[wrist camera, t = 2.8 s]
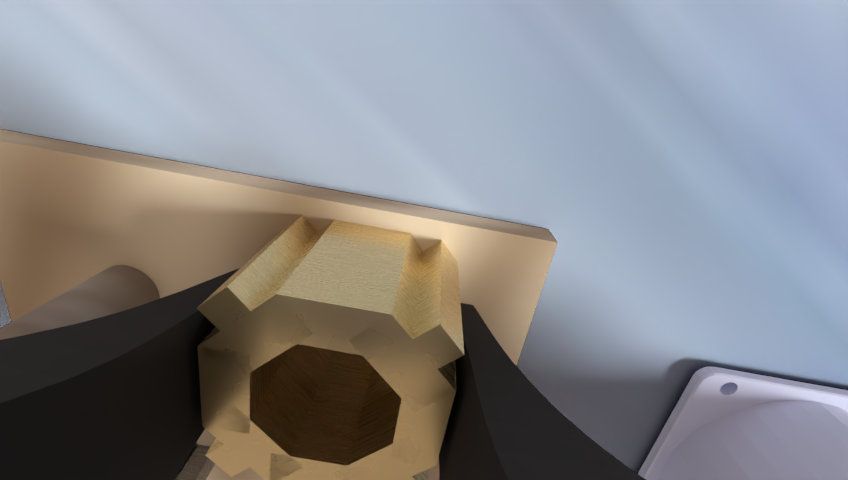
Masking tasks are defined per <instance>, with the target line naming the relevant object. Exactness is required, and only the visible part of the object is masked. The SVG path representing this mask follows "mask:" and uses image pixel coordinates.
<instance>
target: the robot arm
mask: <svg viewBox="0 0 848 480" xmlns="http://www.w3.org/2000/svg"><path fill="white" fill-rule="evenodd" d="M239 269H240V268H239ZM239 269H236V270H233V271H231V272H228V273H225V274H223V275H220V276H218V277H215V278H213V279H210V280H208V281H205V282H203V283H200V284H198V285H195V286H193V287H190V288H188V289H185V290H182V291H180V292H177V293H174V294H171V295H169V296H166V297H163V298H160V299H157V300H154V301H152V302H149V303H146V304H143V305H140V306H137V307H134V308H131V309H128V310H124V311H121V312H118V313H115V314H111V315H107V316H104V317H100V318H96V319H93V320H89V321H85V322H81V323H77V324H73V325H68V326H64V327H59V328H55V329H50V330H46V331H41V332H37V333H32V334H28V335H23V336H18V337H13V338H7V339H2V340H0V480H175V478H176V476H177V474H178V473H179V471H180V469H181V467H182V466H183V464H184V462H185V460H186V459H187V457H188V455H189V453H190V452H191V450H192V448H193V447H194V445H195V444H196V442H197V440H198V439H199V437H200V436H201V434H202V433H203V431H204V430H205V428H204V427H203V426H202V413H201V396H200V379H199V362H198V345H199V344H200V343H201V342H202V341H203V340H204V339H205V338H206V337H207V336H208V335H209V334H210V333H211V331H212V330H213V329H214V328H215V327H216V326H214V325H213V324H212V323H211V322H210V321H209V320H208V319H207V318H206V317H205V316H204V315H203V314H202V313H201V312H200V311H199V310H198V309H197V307H198V306H199V305H201V304H202V303H203V302H204V301H205V300H206V299H207V298H208V297H209V296H210V295H211V294H213V293H214V292H215V291H216V290H217V289H218V288H219V287H220V286H221V285H222V284H223V283H225V282H226V281H227V280H228V279H229V278H230V277H231V276H232V275H233V274H234V273H235V272H237V271H238V270H239ZM461 316H462V329H463V343H464V355H463V356H461V357H460V358H458V359H456V360H455V375H456V393H455V397H454V401H453V405H452V408H451V412H450V416H449V419H448V423H447V427H446V431H445V434H444V438H443V442H442V446H441V449H440V453H439V480H848V390H843V389H837V388H832V387H826V386H820V385H815V384H809V383H803V382H798V381H792V380H787V379H781V378H775V377H770V376H764V375H758V374H753V373H747V372H741V371H736V370H730V369H724V368H719V367H704V368H701V369H699V370H698V371H696V372H695V373H694V375H693V376H692V378H691V379H690V381H689V383H688V385H687V387H686V388H685V390H684V392H683V394H682V395H681V397H680V399H679V401H678V403H677V404H676V406H675V408H674V410H673V412H672V413H671V415H670V417H669V419H668V420H667V422H666V424H665V426H664V428H663V429H662V431H661V433H660V435H659V437H658V438H657V440H656V442H655V444H654V446H653V447H652V449H651V451H650V453H649V454H648V456H647V458H646V460H645V462H644V463H643V465H642V467H641V469H640V471H639V472H638V474H637V473H635V472H634V471H633V470H631V469H630V468H628V467H627V466H626V465H624V464H623V463H622V462H620V461H619V460H618V459H616V458H615V457H614V456H612V455H611V454H610V453H608V452H607V451H605V450H604V449H603V448H602V447H600V446H599V445H598V444H597V443H595V442H594V441H593V440H592V439H590V438H589V437H588V436H587V435H585V434H584V433H583V432H582V431H581V430H580V429H578V428H577V427H576V426H575V425H574V424H573V423H572V422H570V421H569V420H568V419H567V418H566V417H565V416H563V415H562V414H561V413H560V412H559V411H558V410H557V409H556V408H555V407H554V406H553V405H552V404H551V403H550V402H549V401H548V400H547V399H546V398H545V397H544V396H543V395H542V394H541V393H540V392H539V391H538V390H537V389H536V388H535V387H534V386H533V385H532V384H531V383H530V381H529V380H528V379H527V378H526V377H525V376H524V375H523V373H522V372H521V371H520V370H519V369H518V367H517V366H516V365H515V364H514V363H513V361H512V360H511V359H510V358H509V356H508V355H507V354H506V352H505V351H504V350H503V348H502V347H501V346H500V344H499V343H498V342H497V340H496V339H495V337H494V336H493V334H492V333H491V331H490V330H489V328H488V327H487V325H486V324H485V322H484V321H483V319H482V317H481V316H480V314H479V313H478V311H477V310H476V308H475V307H474V305H470V304H465V303H461ZM726 383H727V384H726ZM724 384H725V385H724Z"/></svg>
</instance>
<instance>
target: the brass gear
mask: <svg viewBox="0 0 848 480" xmlns="http://www.w3.org/2000/svg"><path fill="white" fill-rule="evenodd" d="M197 309H198V310H199V311H200V312H201V313H202V314H203V315H204V316H205V317H206V318H207V319H208V320H209V321H210V322H211V323H212V324H213V325H214V326H216V327H215V328H214V329H213V330H212V331H211V333H210V334H209V335H208V336H207V337H206V338H205V339H204V340H203V341H202V342H201V343H200V344H199V345H198V362H199V379H200V396H201V413H202V426H203V427H204V428H205V429H206V430H208V431H209V432H210V433H211V434H212V435H213V436H215V437H216V439H215V441H214V442H213V444H212V445H211V447H210V448H209V450H208V452H207V453H206V455H205V456H207V457H208V458H209V459H210V460H211V461H213V462H214V463H215V464H216V465H217V466H219V467H220V468H221V469H222V470H223V471H225V472H226V473H227V474H228V475H229V476H231V477H232V476H234V475H236V474H238V473H240V472H242V471H244V470H246V469H248V468H249V467H251V468H252V469H253V470H254V471H255V472H256V473H257V474H259V475H260V476H261V477H262V478H263V479H264V480H428V475H429V468H431V467H434V466H436V464H437V461H438V457H439V453H440V449H441V446H442V442H443V438H444V434H445V431H446V427H447V423H448V419H449V416H450V412H451V408H452V405H453V401H454V397H455V393H456V375H455V360H456V359H458V358H460V357H461V356H463V355H464V343H463V329H462V316H461V302H460V288H459V275H458V262H457V260H456V259H455V258H454V256H453V255H452V254H451V252H450V251H449V249H448V248H447V247H446V245H445V244H444V243H443V241H442V240H440V241H439V242H437V243H435V244H434V245H432V246H431V247H429V248H427V249H426V250H424V251H423V250H422V248H421V247H420V246H419V244H418V243H417V242H416V240H415V239H414V238H413V236H412V235H411V234H410V233H406V232H401V231H395V230H390V229H384V228H379V227H373V226H368V225H362V224H356V223H351V222H345V221H340V220H334V221H332V222H331V223H329V224H328V225H327V226H325V227H324V228H322V229H321V230H319V231H318V232H317V231H316V229H315V228H314V227H313V226H312V225H311V224H310V222H309V221H308V220H307V219H306V218H305V216H304V215H302V216H301V217H299V218H298V219H296V220H295V221H294V222H292V223H291V224H290V225H288V226H287V227H285V228H284V229H283V230H281V231H280V232H279V233H278V234H277V235H276V236H275V237H274V238H273V239H271V240H270V241H269V242H268V243H267V244H266V245H265V246H264V247H263V248H262V249H261V250H259V251H258V252H257V253H256V254H255V255H254V256H253V257H252V258H251V259H250V260H249V261H247V262H246V263H245V264H244V265H243V266H242V267H241V268H240V269H239V270H238V271H237V272H235V273H234V274H233V275H232V276H231V277H230V278H229V279H228V280H227V281H226V282H225V283H223V284H222V285H221V286H220V287H219V288H218V289H217V290H216V291H215V292H214V293H213V294H211V295H210V296H209V297H208V298H207V299H206V300H205V301H204V302H203V303H202V304H201V305H199V306H198V307H197Z"/></svg>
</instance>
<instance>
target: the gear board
mask: <svg viewBox="0 0 848 480" xmlns="http://www.w3.org/2000/svg"><path fill="white" fill-rule="evenodd" d="M302 215H304V216H305V218H306V219H307V220H308V221H309V222H310V224H311V225H312V226H313V227H314V228H315V229H316V231H317V232H318V231H319V230H321V229H322V228H324V227H325V226H327V225H328V224H329V223H331V222H332V221H334V220H340V221H345V222H351V223H356V224H362V225H368V226H373V227H379V228H384V229H390V230H395V231H401V232H406V233H410V234H411V235H412V236H413V238H414V239H415V240H416V242H417V243H418V244H419V246H420V247H421V248H422V250H423V251H424V250H426V249H427V248H429V247H431V246H432V245H434V244H435V243H437V242H439V241H440V240H442V241H443V243H444V244H445V245H446V247H447V248H448V249H449V251H450V252H451V254H452V255H453V256H454V258H455V259H456V260H457V262H458V275H459V288H460V302H461V303H465V304H470V305H474V307H475V308H476V310H477V311H478V313H479V314H480V316H481V317H482V319H483V321H484V322H485V324H486V325H487V327H488V328H489V330H490V331H491V333H492V334H493V336H494V337H495V339H496V340H497V342H498V343H499V344H500V346H501V347H502V348H503V350H504V351H505V352H506V354H507V355H508V356H509V358H510V359H511V360H512V361H513V363H514V364H515V365H516V366H517V363H518V360H519V357H520V354H521V351H522V348H523V345H524V342H525V339H526V336H527V333H528V330H529V327H530V324H531V321H532V318H533V315H534V312H535V309H536V306H537V303H538V300H539V297H540V294H541V291H542V288H543V285H544V282H545V279H546V276H547V273H548V270H549V267H550V264H551V261H552V258H553V255H554V252H555V249H556V246H557V243H558V242H557V241H556V239H555V238H554V236H553V235H552V234H551V232H550V231H549V229H544V228H538V227H533V226H527V225H522V224H516V223H511V222H505V221H500V220H494V219H489V218H483V217H478V216H472V215H467V214H461V213H456V212H451V211H445V210H440V209H434V208H429V207H423V206H418V205H412V204H407V203H401V202H396V201H390V200H385V199H379V198H374V197H368V196H363V195H358V194H352V193H347V192H341V191H336V190H330V189H325V188H319V187H314V186H308V185H303V184H297V183H292V182H286V181H281V180H275V179H270V178H265V177H259V176H254V175H248V174H243V173H237V172H232V171H226V170H221V169H215V168H210V167H204V166H199V165H193V164H188V163H182V162H177V161H172V160H166V159H161V158H155V157H150V156H144V155H139V154H133V153H128V152H122V151H117V150H111V149H106V148H100V147H95V146H90V145H84V144H79V143H73V142H68V141H62V140H57V139H51V138H46V137H40V136H35V135H29V134H24V133H18V132H13V131H7V130H2V129H0V282H1V286H2V289H3V293H4V296H5V300H6V304H7V307H8V311H9V315H10V318H11V322H10V323H8V324H7V325H5V326H3V327H1V328H0V340H2V339H7V338H13V337H18V336H23V335H28V334H32V333H37V332H41V331H46V330H50V329H55V328H59V327H64V326H68V325H73V324H77V323H81V322H85V321H89V320H93V319H96V318H100V317H104V316H107V315H111V314H115V313H118V312H121V311H124V310H128V309H131V308H134V307H137V306H140V305H143V304H146V303H149V302H152V301H154V300H157V299H160V298H163V297H166V296H169V295H171V294H174V293H177V292H180V291H182V290H185V289H188V288H190V287H193V286H195V285H198V284H200V283H203V282H205V281H208V280H210V279H213V278H215V277H218V276H220V275H223V274H225V273H228V272H231V271H233V270H236V269H239V268H241V267H242V266H243V265H244V264H245V263H246V262H247V261H249V260H250V259H251V258H252V257H253V256H254V255H255V254H256V253H257V252H258V251H259V250H261V249H262V248H263V247H264V246H265V245H266V244H267V243H268V242H269V241H270V240H271V239H273V238H274V237H275V236H276V235H277V234H278V233H279V232H280V231H281V230H283V229H284V228H285V227H287V226H288V225H290V224H291V223H292V222H294V221H295V220H296V219H298V218H299V217H301V216H302ZM215 439H216V437H215V436H213V435H212V434H211V433H210V432H209V431H208V430H206V429H205V430H204V431H203V433H202V434H201V436H200V437H199V439H198V440H197V445H203V446H209V447H211V445H212V444H213V442H214V441H215ZM206 480H264V479H263V478H262V477H261V476H260V475H259V474H257V473H256V472H255V471H254V470H253V469H252V468H251V467H249V468H248V469H246V470H244V471H242V472H240V473H238V474H236V475H234V476H232V477H231V476H229V475H228V474H227V473H226V472H225V471H223V470H222V469H221V468H220V467H219V466H217V465H216V464H215V465H214V467H213V469H212V470H211V472H210V474H209V475H208V477H207V479H206ZM428 480H439V457H438V461H437V464H436V466H434V467H431V468H429V475H428Z"/></svg>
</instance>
